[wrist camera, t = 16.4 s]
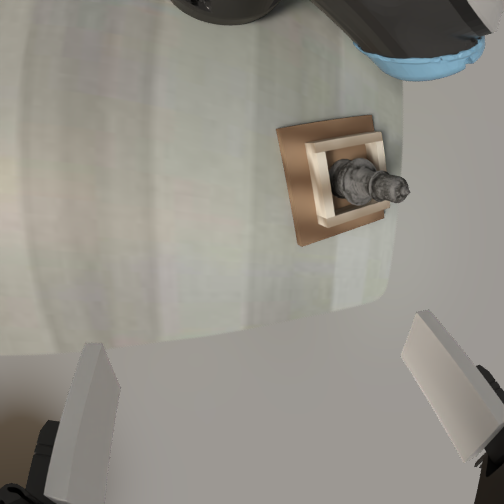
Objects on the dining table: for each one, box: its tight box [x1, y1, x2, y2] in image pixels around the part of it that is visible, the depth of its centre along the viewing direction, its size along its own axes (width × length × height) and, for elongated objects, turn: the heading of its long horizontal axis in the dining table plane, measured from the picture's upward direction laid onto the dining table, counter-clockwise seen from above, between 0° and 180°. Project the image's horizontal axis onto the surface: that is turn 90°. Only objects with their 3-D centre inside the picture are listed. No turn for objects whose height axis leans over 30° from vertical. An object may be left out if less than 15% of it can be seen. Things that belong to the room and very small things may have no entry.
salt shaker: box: [329, 158, 410, 206], centre depth 35 cm, size 6×6×12 cm
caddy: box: [276, 115, 390, 247], centre depth 39 cm, size 15×14×4 cm
